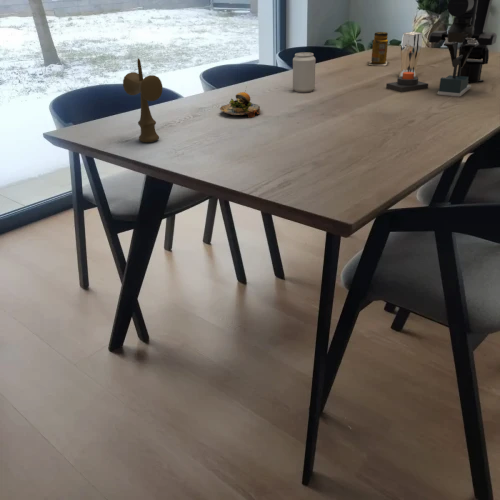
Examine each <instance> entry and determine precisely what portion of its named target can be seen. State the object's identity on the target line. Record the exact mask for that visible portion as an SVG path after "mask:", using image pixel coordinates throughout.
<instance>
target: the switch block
mask: <svg viewBox="0 0 500 500" xmlns="http://www.w3.org/2000/svg"><path fill="white" fill-rule="evenodd" d="M402 77H403V76H401V77H399V76H397V80H396V81H394V82H393V81H392V82H387V83H386V86H385V89H386V90H391V91H395V92H399V93H408V92H414V91H420V90H426V89H429V83H427V82H425V81H419V77H417V76H416V77H414V79H402Z"/></svg>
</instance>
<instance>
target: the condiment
mask: <svg viewBox="0 0 500 500" xmlns="http://www.w3.org/2000/svg"><path fill="white" fill-rule="evenodd" d="M388 45H389V40H388V32H386V31H375V32H374V36H373V40H372V49H371V60H370V61H369V62H368V66H387V65H388V61H387V56H388Z"/></svg>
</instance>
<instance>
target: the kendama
mask: <svg viewBox="0 0 500 500" xmlns="http://www.w3.org/2000/svg"><path fill="white" fill-rule="evenodd" d="M122 87H123V90H124V92H125V93H126V94H127V95H129V96H136V95H140V118H139V120H138V122H137V125H138V126H139V128H140V135H139V136H138V141H140V142H141V143H154V142H156V141H158V140H159V139H160V136H159V135H158V133H157V132H156V124H157V121H156V120H155V119H154V118H153V115H152V112H151V110H150V106H149V103H148V102H155V101H157V100H159V99H160V98H161V96H162V95H163V94H162V93H163V83H162V80H161V78H160V77H159V76H156V75H153V74H149V75H147V76H145V77H144V75H143V68H142V63H141V59H140V58H137V72H136V71H135V72H133V71H132V72H131V71H130V72H128V73H127V74H126V75H124V77H123V79H122Z"/></svg>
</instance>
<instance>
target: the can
mask: <svg viewBox="0 0 500 500" xmlns="http://www.w3.org/2000/svg"><path fill="white" fill-rule="evenodd" d="M315 88H316V57H315V56H314V53H313V52H296V53H295V54H294V57H293V58H292V89H293V90H294V92H296V93H311V92H313V90H314V89H315Z"/></svg>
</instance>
